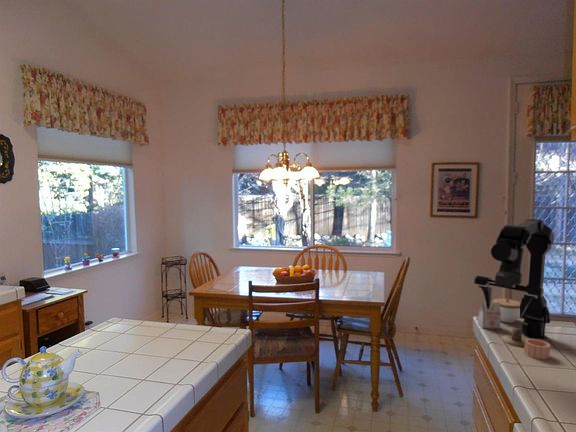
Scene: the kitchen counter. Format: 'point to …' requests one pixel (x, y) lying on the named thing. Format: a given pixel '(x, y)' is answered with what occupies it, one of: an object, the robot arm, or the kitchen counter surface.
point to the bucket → (537, 348)
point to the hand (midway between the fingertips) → (504, 312)
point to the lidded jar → (509, 309)
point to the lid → (515, 338)
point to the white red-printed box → (489, 316)
